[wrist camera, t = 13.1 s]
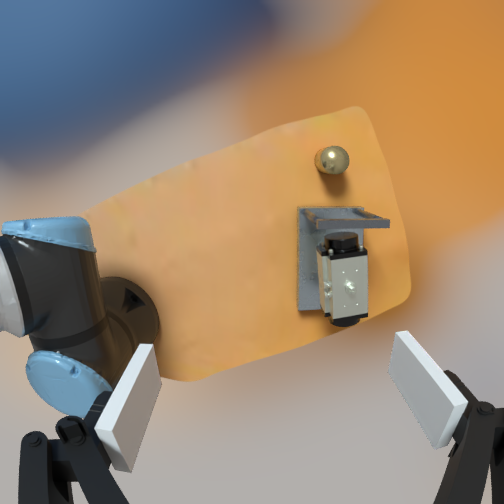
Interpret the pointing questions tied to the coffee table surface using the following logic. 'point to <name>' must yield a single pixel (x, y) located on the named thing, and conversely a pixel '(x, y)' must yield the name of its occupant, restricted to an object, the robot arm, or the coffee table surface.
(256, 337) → the coffee table surface
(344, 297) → the pneumatic valve
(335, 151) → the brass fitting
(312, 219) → the dolly
